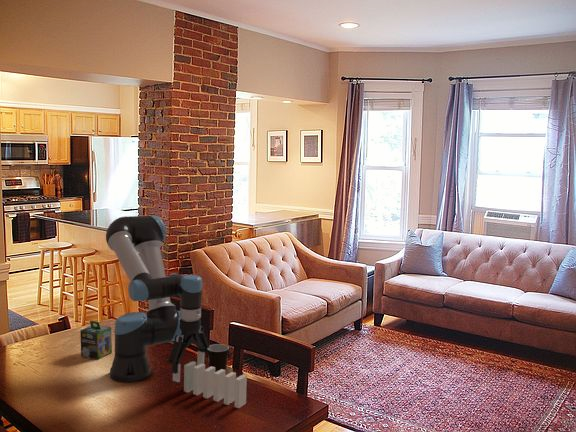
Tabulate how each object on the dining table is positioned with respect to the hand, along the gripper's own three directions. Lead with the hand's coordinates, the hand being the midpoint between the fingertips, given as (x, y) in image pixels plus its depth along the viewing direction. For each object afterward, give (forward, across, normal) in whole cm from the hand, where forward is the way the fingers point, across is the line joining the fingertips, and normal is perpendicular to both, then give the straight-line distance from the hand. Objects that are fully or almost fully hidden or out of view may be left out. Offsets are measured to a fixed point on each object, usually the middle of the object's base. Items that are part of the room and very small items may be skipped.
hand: (188, 374), depth 194 cm
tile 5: (+5, 0, -19) cm, 19 cm away
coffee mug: (+6, +20, +1) cm, 21 cm away
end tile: (+5, 0, -1) cm, 6 cm away
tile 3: (+5, 0, -10) cm, 11 cm away
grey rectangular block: (+5, 0, -23) cm, 24 cm away
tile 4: (+5, 0, -14) cm, 15 cm away
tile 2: (+5, 0, -5) cm, 8 cm away
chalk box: (+7, +5, +54) cm, 54 cm away
